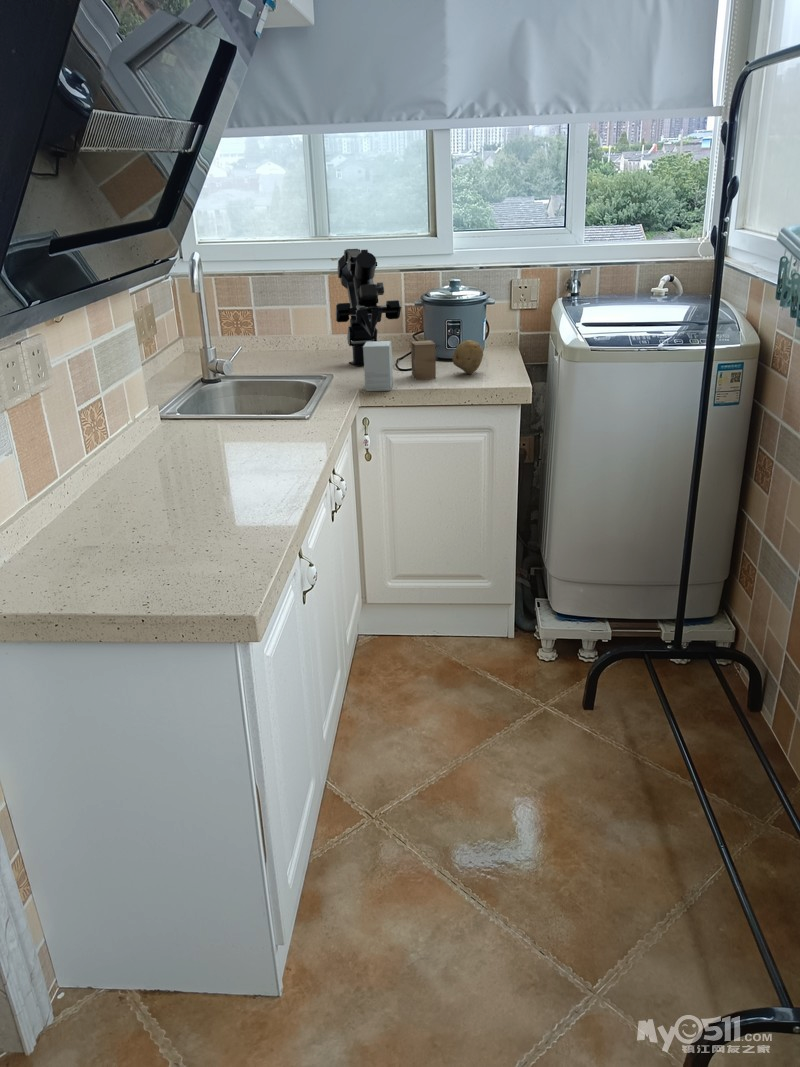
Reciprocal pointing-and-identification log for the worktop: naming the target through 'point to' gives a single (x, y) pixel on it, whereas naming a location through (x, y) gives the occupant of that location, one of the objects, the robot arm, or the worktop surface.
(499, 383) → the worktop surface
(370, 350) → the supplement box
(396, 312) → the robot arm
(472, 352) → the natural sponge
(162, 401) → the worktop surface
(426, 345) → the walnut block
